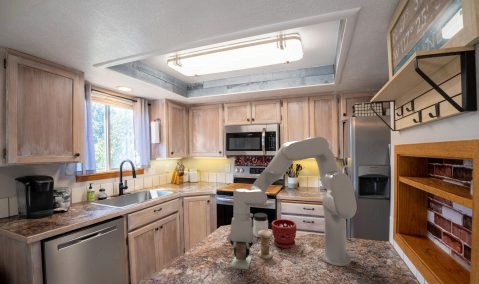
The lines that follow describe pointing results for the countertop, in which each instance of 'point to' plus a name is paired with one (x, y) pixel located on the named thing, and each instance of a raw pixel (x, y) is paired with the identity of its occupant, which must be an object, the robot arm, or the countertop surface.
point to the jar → (259, 223)
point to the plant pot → (284, 233)
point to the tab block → (241, 250)
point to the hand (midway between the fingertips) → (241, 255)
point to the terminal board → (241, 263)
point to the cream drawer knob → (265, 244)
